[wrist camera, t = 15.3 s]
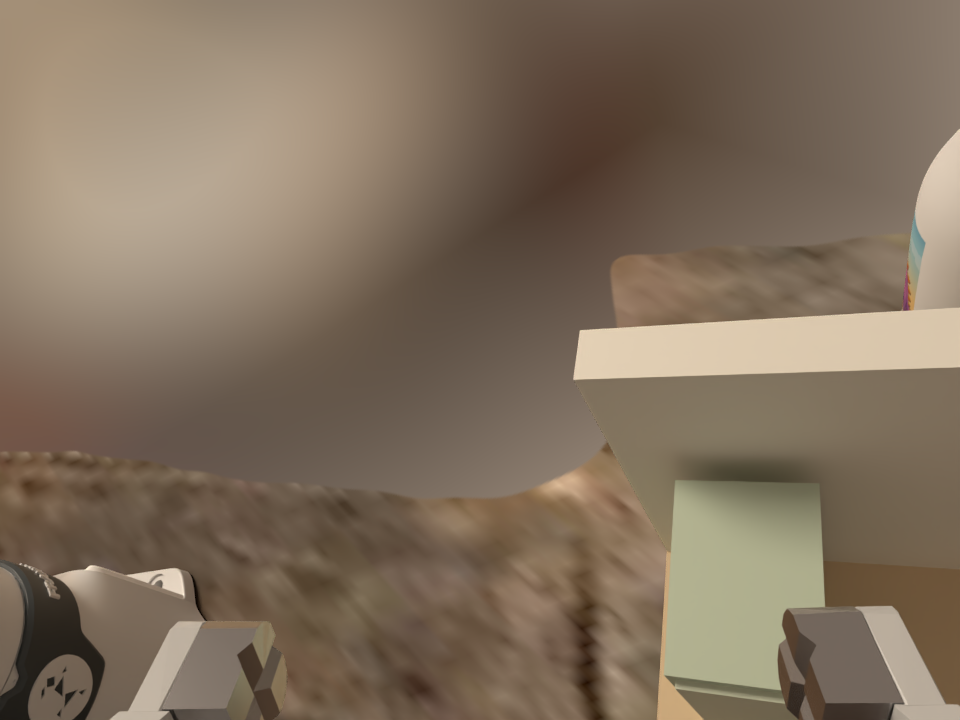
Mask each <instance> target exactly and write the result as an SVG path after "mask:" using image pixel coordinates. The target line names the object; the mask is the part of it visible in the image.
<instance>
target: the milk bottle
mask: <svg viewBox="0 0 960 720" xmlns="http://www.w3.org/2000/svg"><path fill="white" fill-rule="evenodd" d="M944 308H960V129H959V130H958V131H957V132H956V134H954V135H953V136H952V138H951V139H950V140H949V141H948V142H947V143H946V144H945V146H944V147H943V148H942V149H941V150H940V152H939V153H938V155H937V156H936V158H935V159H934V161H933V162H932V164H931V166H930V167H929V169H928V171H927V173H926V176H925V178H924V180H923V183H922V186H921V189H920V192H919V195H918V199H917V204H916V209H915V214H914V220H913V226H912V233H911V240H910V248H909V255H908V263H907V271H906V279H905V288H904V296H903V305H902V311H911V310H928V309H944Z"/></svg>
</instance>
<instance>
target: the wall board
mask: <svg viewBox="0 0 960 720" xmlns="http://www.w3.org/2000/svg"><path fill="white" fill-rule="evenodd" d="M573 380H574V382H575V383H576V385H577V387H578V389H579V391H580V393H581V395H582V396H583V398H584V400H585V401H586V404H587V405H588V407H589V409H590V411H591V413H592V415H593V416H594V418H595V420H596V422H597V424H598V426H599V427H600V429H601V431H602V433H603V434H604V437H605V439H606V440H607V442H608V444H609V446H610V448H611V449H612V451H613V453H614V455H615V457H616V459H617V460H618V462H619V464H620V466H621V468H622V470H623V471H624V473H625V475H626V477H627V479H628V481H629V482H630V484H631V486H632V488H633V490H634V492H635V493H636V495H637V497H638V499H639V501H640V503H641V504H642V506H643V508H644V510H645V512H646V514H647V515H648V517H649V519H650V521H651V523H652V525H653V526H654V528H655V530H656V532H657V534H658V536H659V537H660V539H661V541H662V543H663V545H664V547H665V548H666V550H667V560H666V577H665V594H664V611H663V628H662V645H661V662H660V679H659V696H658V713H657V720H704V719H703V718H702V717H701V716H700V715H699V714H698V713H697V712H696V711H695V710H694V709H693V707H692V706H691V705H690V704H689V703H688V702H687V701H686V700H685V699H684V698H683V697H682V696H681V695H680V694H679V692H678V691H677V690H676V689H675V687H674V686H673V685H672V683H671V682H670V681H669V680H668V679H667V678H666V677H665V676H664V664H665V646H666V629H667V611H668V594H669V577H670V559H671V542H672V524H673V507H674V490H675V480H699V481H740V482H780V483H820V504H821V526H822V547H823V569H824V591H825V607H841V606H853V607H865V606H892V607H893V608H895V609H896V610H897V611H898V612H899V614H900V616H901V618H902V620H903V622H904V624H905V626H906V628H907V629H908V631H909V633H910V635H911V637H912V639H913V641H914V643H915V645H916V647H917V649H918V650H919V652H920V654H921V656H922V658H923V660H924V662H925V664H926V666H927V668H928V669H929V671H930V673H931V675H932V677H933V679H934V681H935V683H936V685H937V687H938V688H939V690H940V692H941V694H942V696H943V698H944V700H945V702H946V704H958V705H959V706H960V308H944V309H928V310H911V311H894V312H878V313H861V314H844V315H828V316H811V317H794V318H778V319H761V320H744V321H728V322H711V323H694V324H678V325H661V326H644V327H628V328H611V329H595V330H580V336H579V342H578V350H577V357H576V364H575V371H574V379H573Z"/></svg>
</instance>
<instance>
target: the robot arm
mask: <svg viewBox="0 0 960 720" xmlns="http://www.w3.org/2000/svg"><path fill="white" fill-rule="evenodd" d="M42 572H43V571H41V570H39V569H36V568H34V567H31V566H28V565H24V564H21V563H20V564H16V563H12V562H9V561H5V560H0V720H274V719H275V718H276V717H277V716H278V715H279V714H280V712H281V709H282V706H283V702H284V699H285V695H286V685H287V670H286V663H285V660H284V657H283V654H282V653H281V652H280V651H278V650H277V649H276V648H274V647H273V646H272V644H273V641H274V638H275V633H274V631H273V628H272V626H271V624H270V622H266V621H205V620H204V619H203V617H202V616H201V614H200V613H199V611H198V609H197V606H196V603H195V593H194V586H193V581H192V577H191V575H190V574H189V573H188V572H187V571H184V570H180V569H177V568H171V569H164V570H157V571H151V572H144V573H138V574H131V575H123V574H120V573H117V572H114V571H111V570H108V569H105V568H102V567H98V566H89V567H88V568H86V569H85V570H75V571H70V572H66V573H62V574H59V575H55V576H51V575H48V574H45V573H42ZM162 585H163V586H162ZM161 587H162V588H161ZM782 627H783V630H784V633H785V636H786V639H785V640H784V641H783V642H781V643H780V644H779V648H778V658H777V662H778V675H779V682H780V686H781V691H782V695H783V698H784V701H785V705H786V708H787V710H789V711H790V712H791V713H792V714H793V715H794V716H795V717H796V718H797V719H798V720H960V706H959V705H958V704H946V702H945V700H944V698H943V696H942V694H941V692H940V690H939V688H938V687H937V685H936V683H935V681H934V679H933V677H932V675H931V673H930V671H929V669H928V668H927V666H926V664H925V662H924V660H923V658H922V656H921V654H920V652H919V650H918V649H917V647H916V645H915V643H914V641H913V639H912V637H911V635H910V633H909V631H908V629H907V628H906V626H905V624H904V622H903V620H902V618H901V616H900V614H899V612H898V611H897V610H896V609H895V608H893V607H892V606H865V607H853V606H841V607H813V608H787V609H786V611H785V612H784V614H783V620H782Z"/></svg>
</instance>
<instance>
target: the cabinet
mask: <svg viewBox="0 0 960 720" xmlns="http://www.w3.org/2000/svg"><path fill="white" fill-rule="evenodd" d="M813 607H825V591H824V569H823V547H822V526H821V504H820V483H780V482H740V481H699V480H675V490H674V507H673V524H672V542H671V559H670V577H669V594H668V611H667V629H666V646H665V664H664V676H665V677H666V678H667V679H668V680H669V681H670V682H671V683H672V685H673V686H674V687H675V689H676V690H677V691H678V692H679V694H680V695H681V696H682V697H683V698H684V699H685V700H686V701H687V702H688V703H689V704H690V705H691V706H692V707H693V709H694V710H695V711H696V712H697V713H698V714H699V715H700V716H701V717H702V718H703V719H704V720H798V719H797V718H796V717H795V716H794V715H793V714H792V713H791V712H790V711H789V710H787V708H786V705H785V701H784V698H783V695H782V691H781V686H780V682H779V675H778V662H777V658H778V648H779V644H780V643H781V642H783V641H784V640H785V639H786V636H785V633H784V630H783V627H782V620H783V614H784V612H785V611H786V609H787V608H813Z"/></svg>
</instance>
